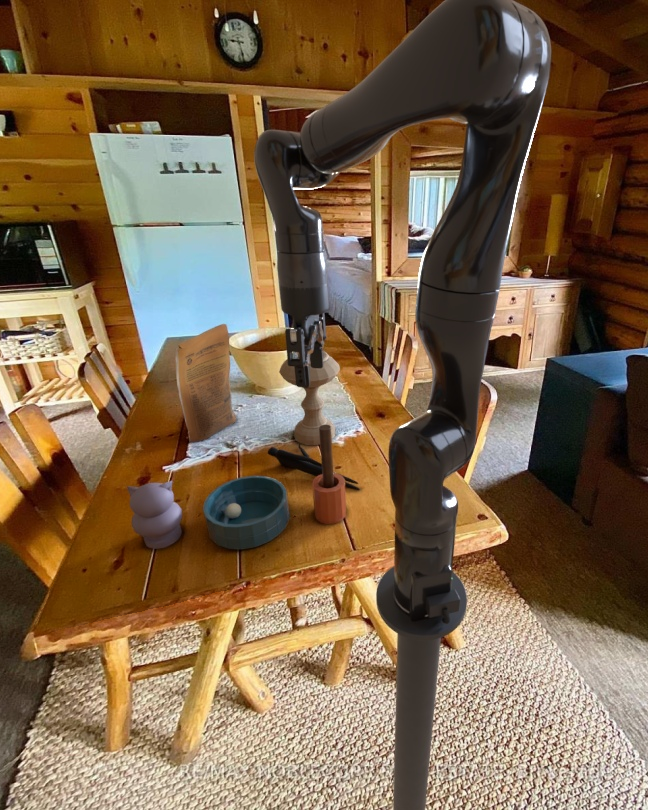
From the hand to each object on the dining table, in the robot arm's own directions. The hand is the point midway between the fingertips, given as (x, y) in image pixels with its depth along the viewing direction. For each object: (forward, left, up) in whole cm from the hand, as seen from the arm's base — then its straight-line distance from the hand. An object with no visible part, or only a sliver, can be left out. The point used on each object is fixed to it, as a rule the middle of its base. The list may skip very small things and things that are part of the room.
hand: (310, 376), depth 76 cm
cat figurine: (+2, +30, -31) cm, 43 cm away
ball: (+4, +17, -29) cm, 34 cm away
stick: (+1, -2, -31) cm, 31 cm away
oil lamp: (+34, -2, -31) cm, 46 cm away
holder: (+1, -2, -31) cm, 31 cm away
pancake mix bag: (+43, +24, -31) cm, 58 cm away
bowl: (+2, +14, -31) cm, 34 cm away
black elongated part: (+17, -2, -32) cm, 36 cm away
